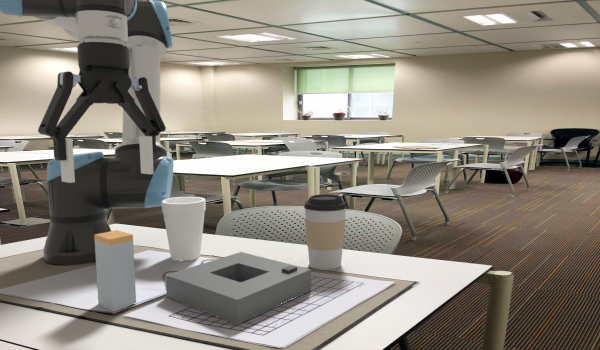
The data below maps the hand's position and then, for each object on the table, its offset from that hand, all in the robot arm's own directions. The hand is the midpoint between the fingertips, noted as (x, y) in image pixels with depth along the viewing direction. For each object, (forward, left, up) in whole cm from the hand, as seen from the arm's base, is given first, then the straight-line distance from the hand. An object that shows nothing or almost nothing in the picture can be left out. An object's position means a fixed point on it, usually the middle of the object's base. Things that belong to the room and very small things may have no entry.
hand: (110, 177), depth 76 cm
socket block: (+13, +16, -22) cm, 30 cm away
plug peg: (0, 0, -22) cm, 22 cm away
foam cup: (-13, +24, -22) cm, 35 cm away
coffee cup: (+15, +39, -22) cm, 47 cm away
